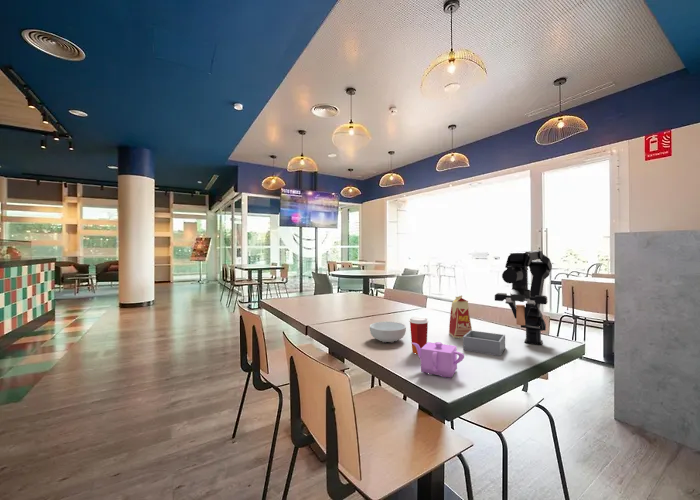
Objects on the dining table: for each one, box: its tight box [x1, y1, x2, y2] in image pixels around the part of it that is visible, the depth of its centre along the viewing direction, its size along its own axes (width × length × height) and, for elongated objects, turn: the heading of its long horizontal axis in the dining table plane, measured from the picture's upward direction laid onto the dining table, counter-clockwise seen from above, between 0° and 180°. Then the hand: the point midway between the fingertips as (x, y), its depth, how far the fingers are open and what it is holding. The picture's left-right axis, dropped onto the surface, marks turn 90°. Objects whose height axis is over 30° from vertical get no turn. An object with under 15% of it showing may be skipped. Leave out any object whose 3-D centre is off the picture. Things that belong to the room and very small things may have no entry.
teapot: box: [411, 341, 465, 378], centre depth 103 cm, size 18×14×10 cm
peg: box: [515, 304, 526, 326], centre depth 125 cm, size 3×3×8 cm
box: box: [462, 329, 506, 357], centre depth 126 cm, size 12×14×6 cm
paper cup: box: [408, 316, 429, 355], centre depth 123 cm, size 8×8×14 cm
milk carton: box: [448, 295, 473, 339], centre depth 146 cm, size 9×9×20 cm
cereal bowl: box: [369, 320, 407, 343], centre depth 140 cm, size 17×17×7 cm
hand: (520, 319), depth 125 cm, fingers closed on peg, 3 cm apart
